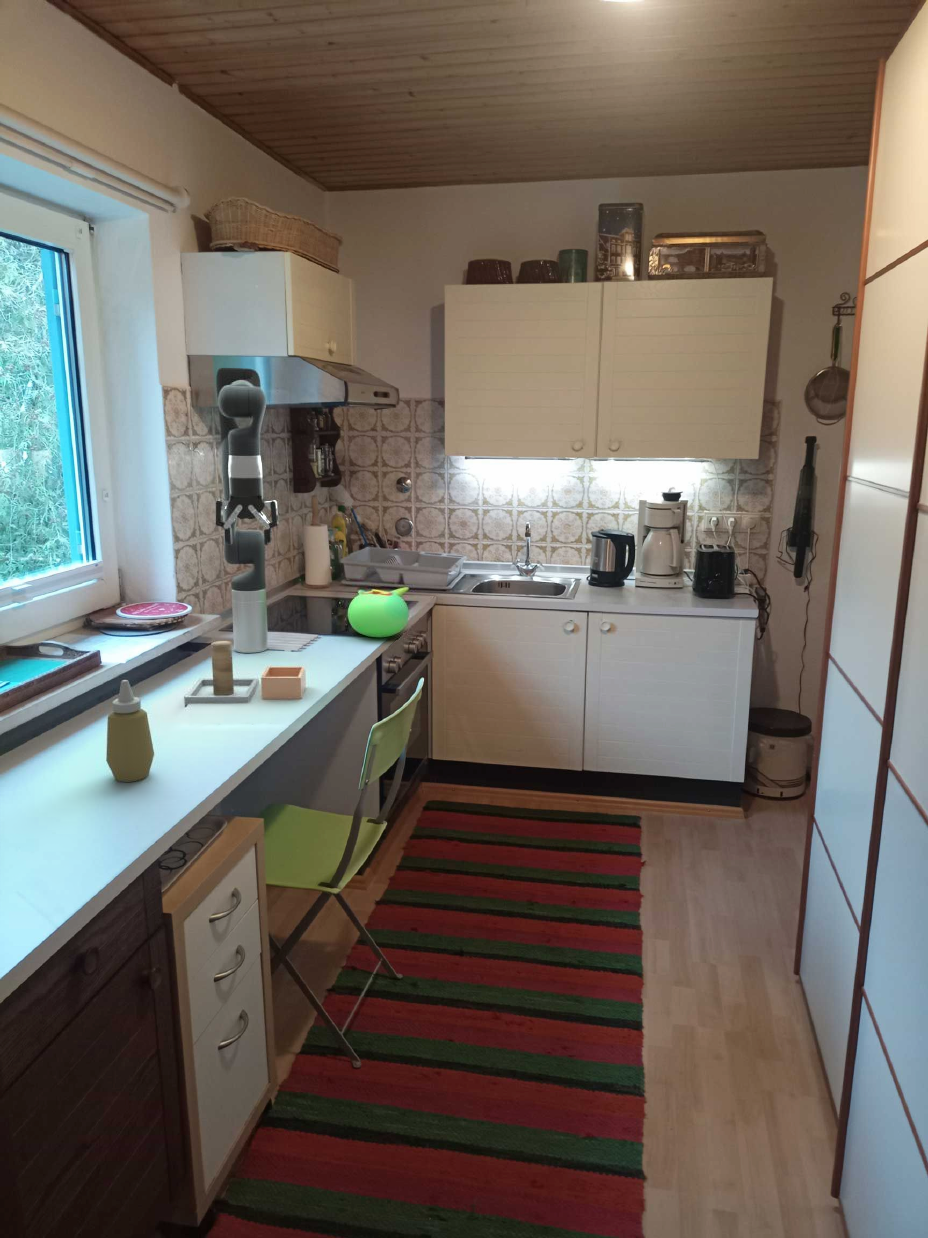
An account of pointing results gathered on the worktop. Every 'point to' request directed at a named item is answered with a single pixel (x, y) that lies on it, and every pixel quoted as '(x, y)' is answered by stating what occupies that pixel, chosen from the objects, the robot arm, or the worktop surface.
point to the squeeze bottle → (128, 738)
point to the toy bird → (378, 612)
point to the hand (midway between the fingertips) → (248, 544)
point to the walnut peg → (222, 668)
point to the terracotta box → (283, 683)
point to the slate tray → (246, 698)
